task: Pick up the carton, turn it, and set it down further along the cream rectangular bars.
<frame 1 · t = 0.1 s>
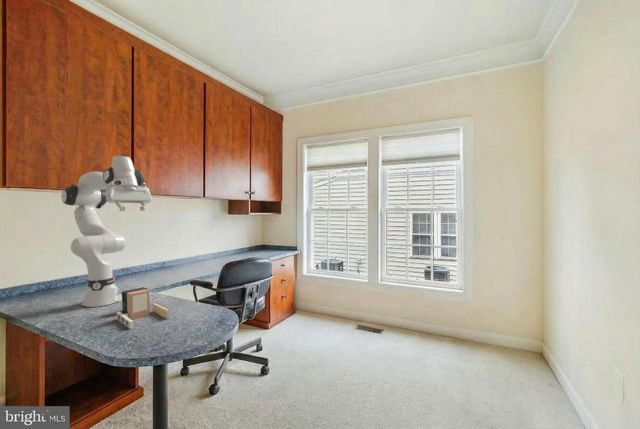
hand: (132, 210, 146), 52 cm above the table, tool tilted 20°, fingers open, 8 cm apart
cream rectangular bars: (141, 319, 138), on the table
carton: (138, 316, 142), on the table
small box: (135, 310, 152), on the table
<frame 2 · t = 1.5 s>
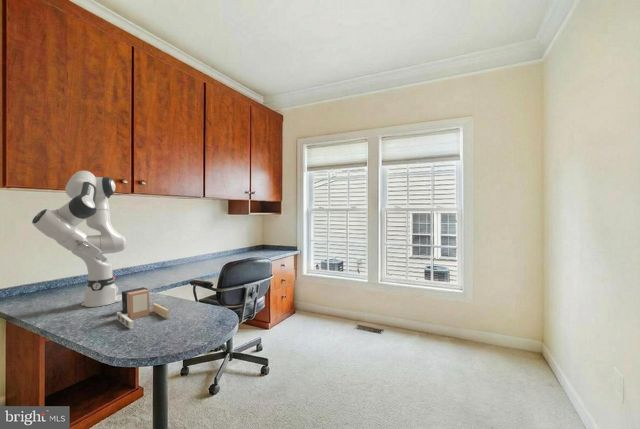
hand: (102, 259, 134), 29 cm above the table, tool tilted 45°, fingers open, 8 cm apart
nothing on the table moved.
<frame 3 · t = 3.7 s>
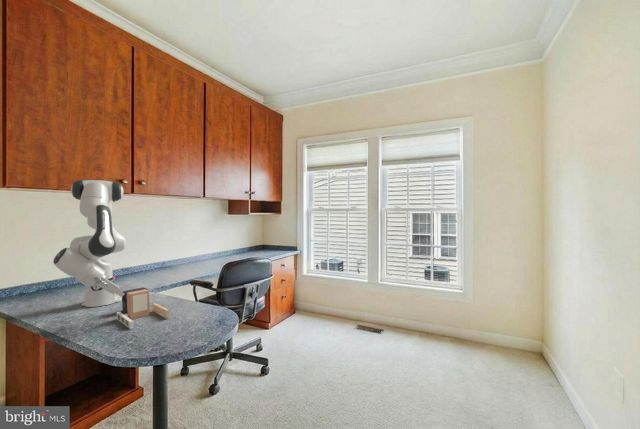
hand: (120, 293, 136), 13 cm above the table, tool tilted 45°, fingers open, 8 cm apart
nothing on the table moved.
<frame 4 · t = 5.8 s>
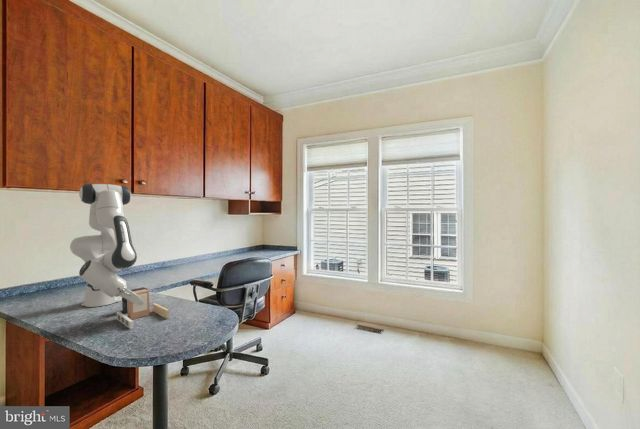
hand: (139, 302, 142), 6 cm above the table, tool tilted 45°, fingers closed on carton, 5 cm apart
carton: (138, 316, 142), on the table, touching gripper
everything else where it was.
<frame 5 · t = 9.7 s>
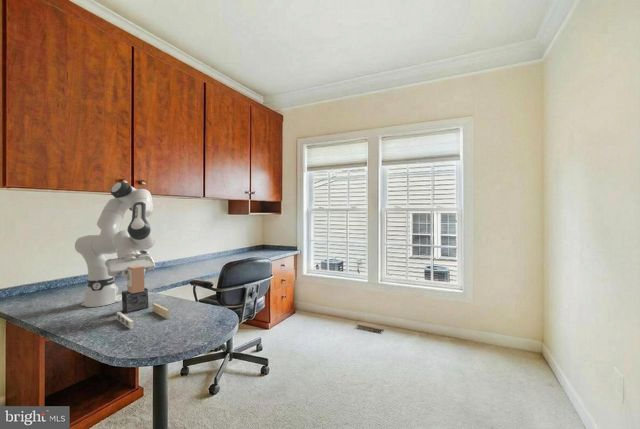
hand: (135, 278, 142), 18 cm above the table, tool tilted 45°, fingers closed on carton, 5 cm apart
carton: (135, 291, 143), point 12 cm above the table, touching gripper
everything else where it was.
when the fingers open (7 cm above the table, at t = 13.3 s): carton drops 1 cm, on the table.
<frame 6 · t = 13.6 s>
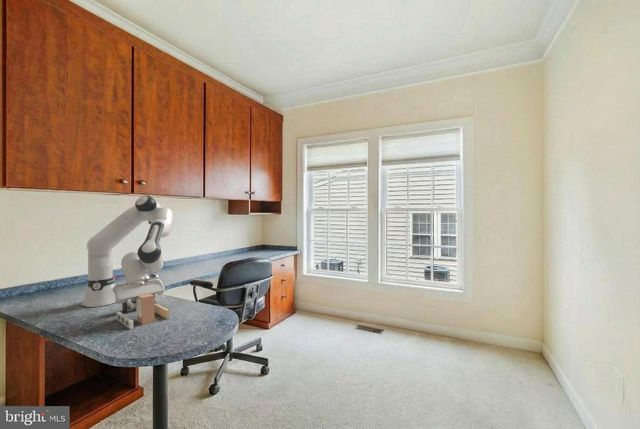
hand: (144, 305, 134), 7 cm above the table, tool tilted 45°, fingers open, 8 cm apart
carton: (145, 320, 135), on the table
everything else where it was.
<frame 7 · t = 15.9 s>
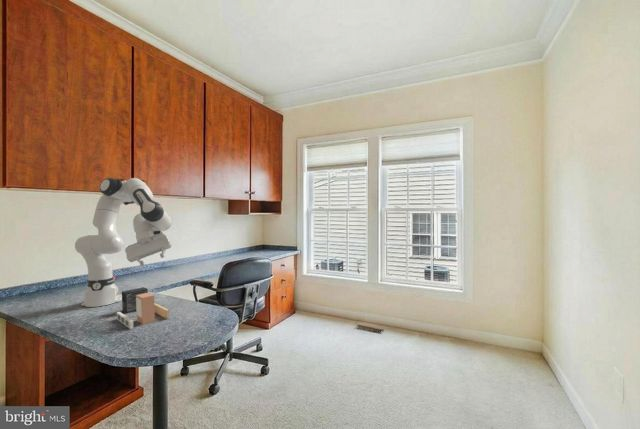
hand: (152, 260, 143), 27 cm above the table, tool tilted 45°, fingers open, 8 cm apart
nothing on the table moved.
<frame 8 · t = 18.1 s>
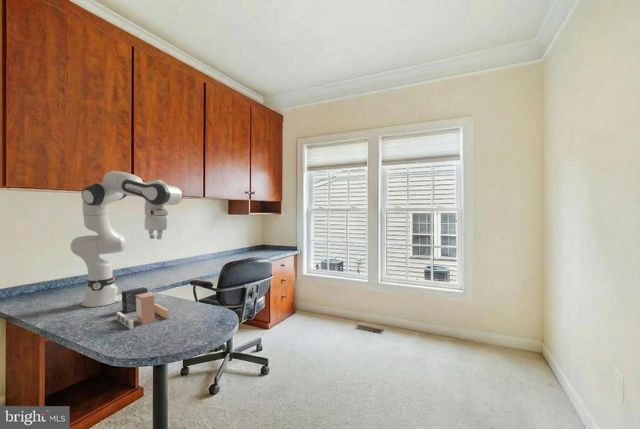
hand: (155, 239, 148), 37 cm above the table, tool pointing down, fingers open, 8 cm apart
nothing on the table moved.
at the end: carton inside the target area (0.3 cm from its centre), on the table; carton tilted 0°; the gripper is holding nothing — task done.
